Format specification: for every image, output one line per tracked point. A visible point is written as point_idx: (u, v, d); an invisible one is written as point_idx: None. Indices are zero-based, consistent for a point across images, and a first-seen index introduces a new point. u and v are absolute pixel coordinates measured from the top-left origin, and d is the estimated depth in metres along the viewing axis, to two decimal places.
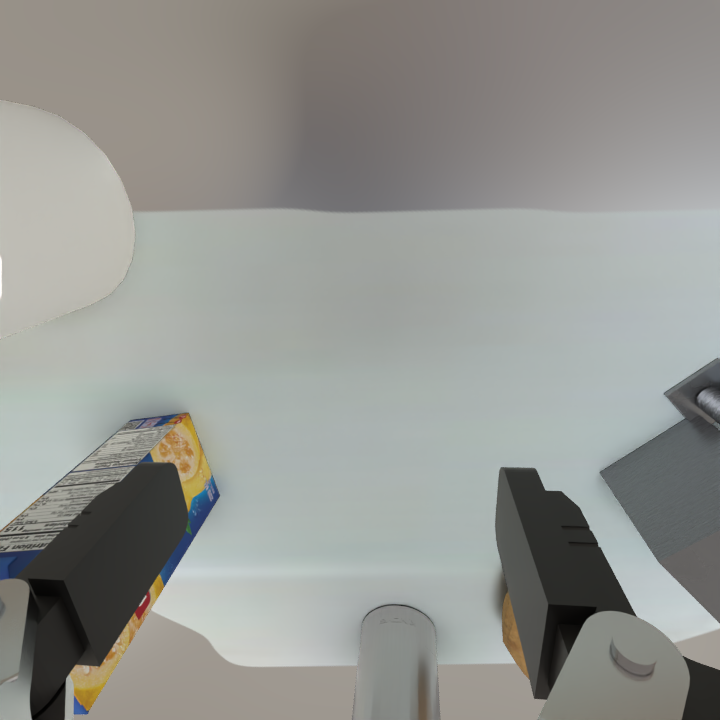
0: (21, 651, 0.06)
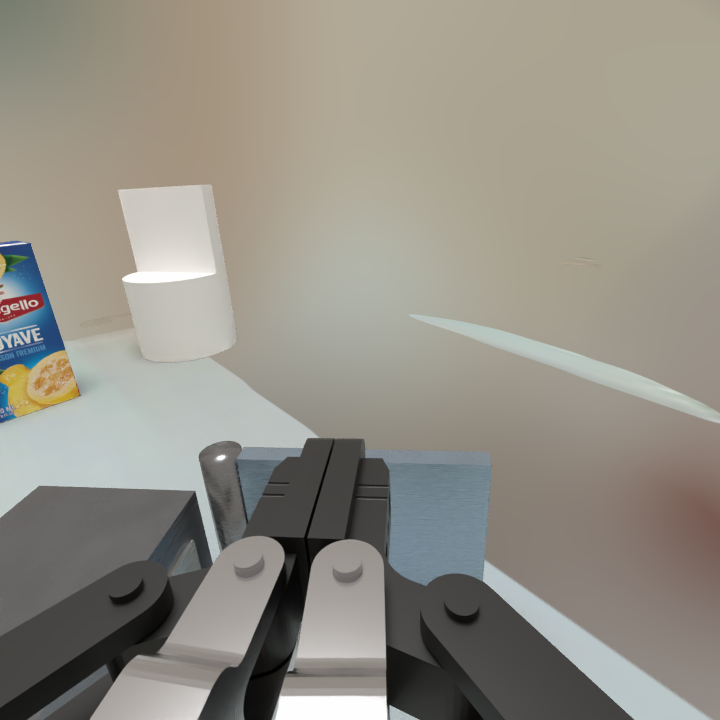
0: (255, 632, 0.06)
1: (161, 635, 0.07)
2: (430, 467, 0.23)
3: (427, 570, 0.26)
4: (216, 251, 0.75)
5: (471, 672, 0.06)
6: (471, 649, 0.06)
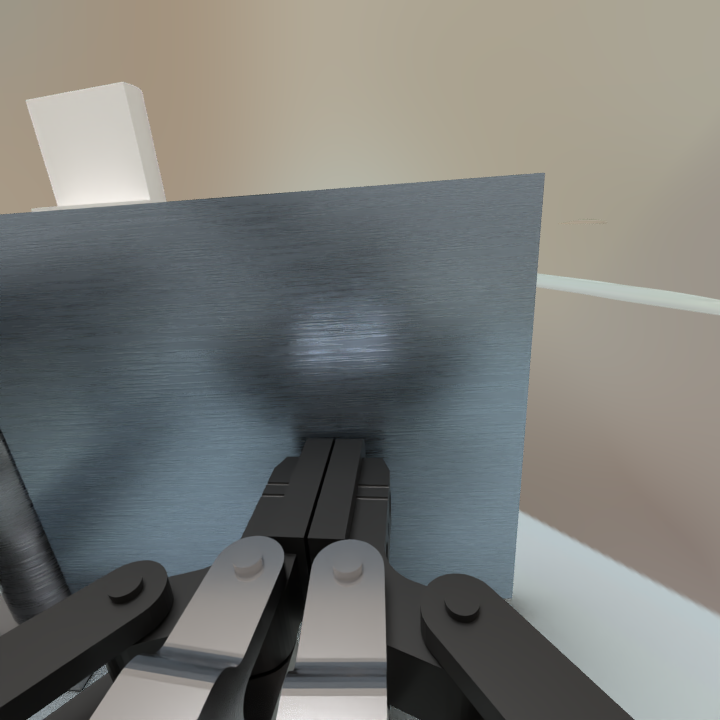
0: (254, 631, 0.06)
1: (161, 634, 0.07)
2: (390, 196, 0.09)
3: (398, 487, 0.12)
4: (149, 172, 0.60)
5: (471, 672, 0.06)
6: (471, 649, 0.06)
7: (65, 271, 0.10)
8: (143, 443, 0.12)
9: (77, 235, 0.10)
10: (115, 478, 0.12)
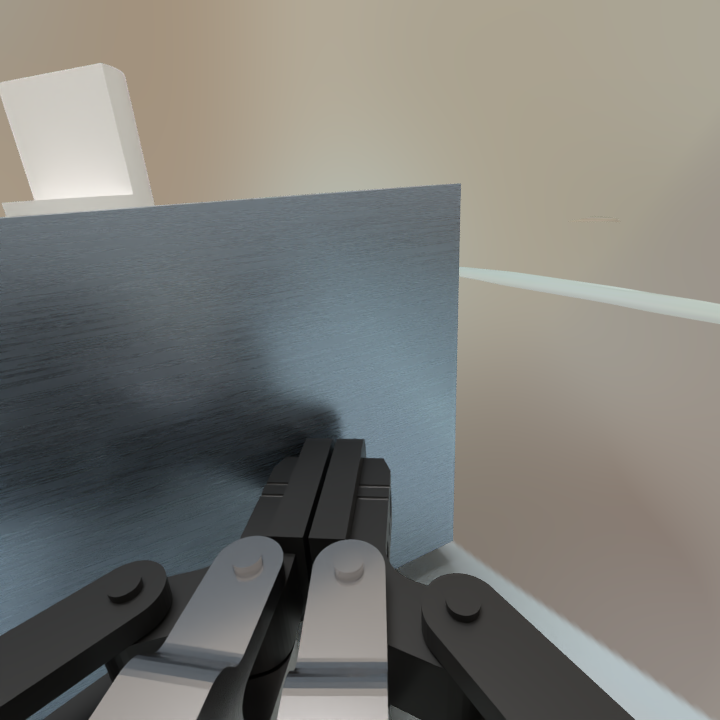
0: (253, 631, 0.06)
1: (159, 635, 0.07)
2: (350, 202, 0.10)
3: None
4: (132, 164, 0.55)
5: (472, 672, 0.06)
6: (472, 649, 0.06)
7: None
8: (81, 512, 0.09)
9: None
10: (38, 571, 0.09)
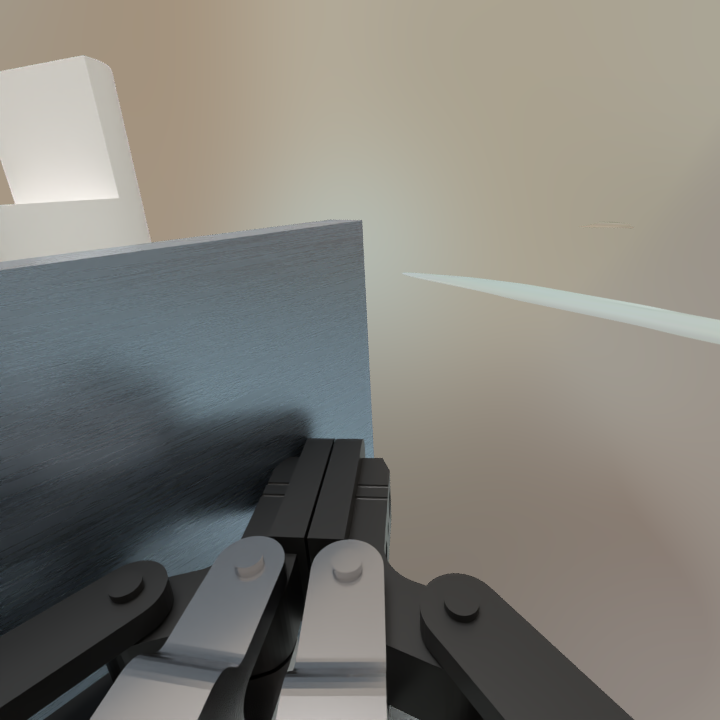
0: (254, 632, 0.06)
1: (161, 635, 0.07)
2: (255, 246, 0.09)
3: None
4: (118, 165, 0.51)
5: (471, 672, 0.06)
6: (471, 649, 0.06)
7: None
8: None
9: None
10: None
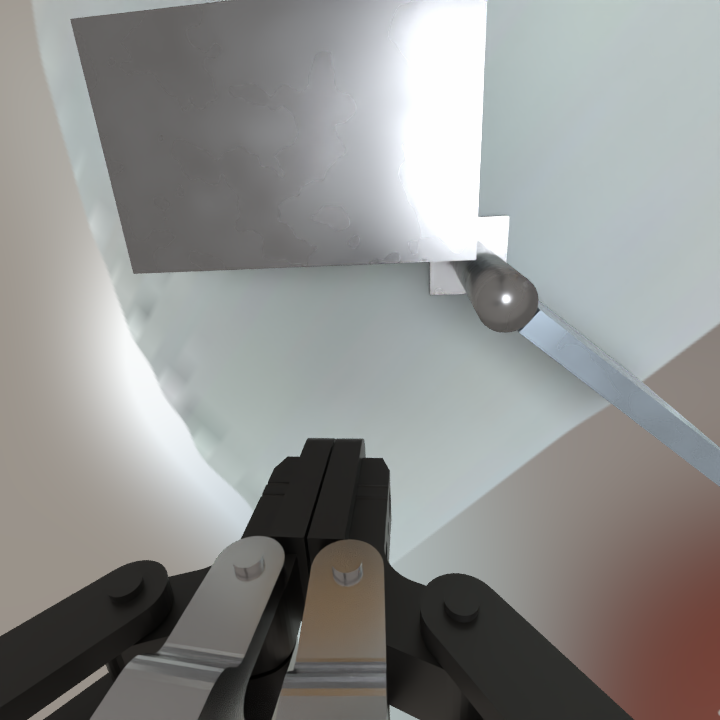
0: (255, 632, 0.06)
1: (161, 635, 0.07)
2: (699, 470, 0.20)
3: None
4: None
5: (471, 672, 0.06)
6: (471, 649, 0.06)
7: None
8: None
9: None
10: None
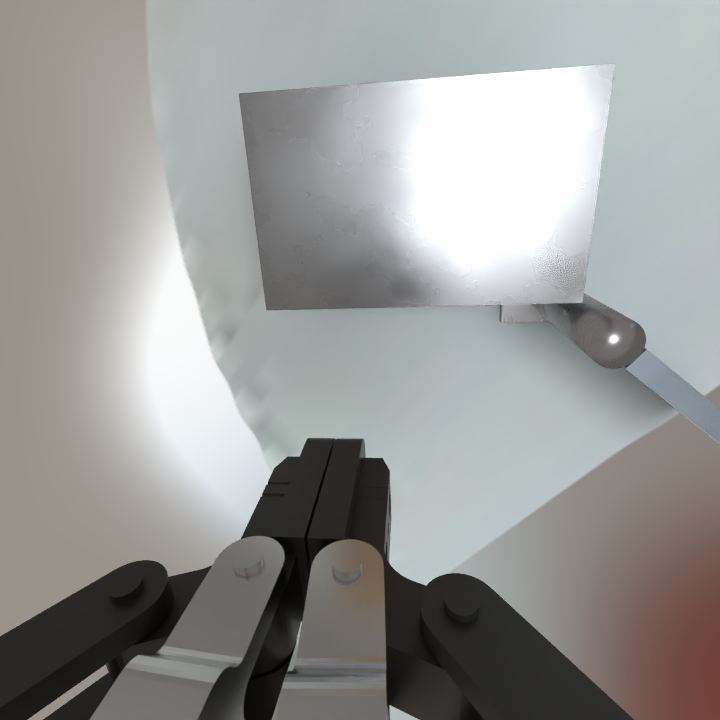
0: (254, 631, 0.06)
1: (161, 635, 0.07)
2: None
3: None
4: None
5: (471, 672, 0.06)
6: (471, 649, 0.06)
7: None
8: None
9: None
10: None
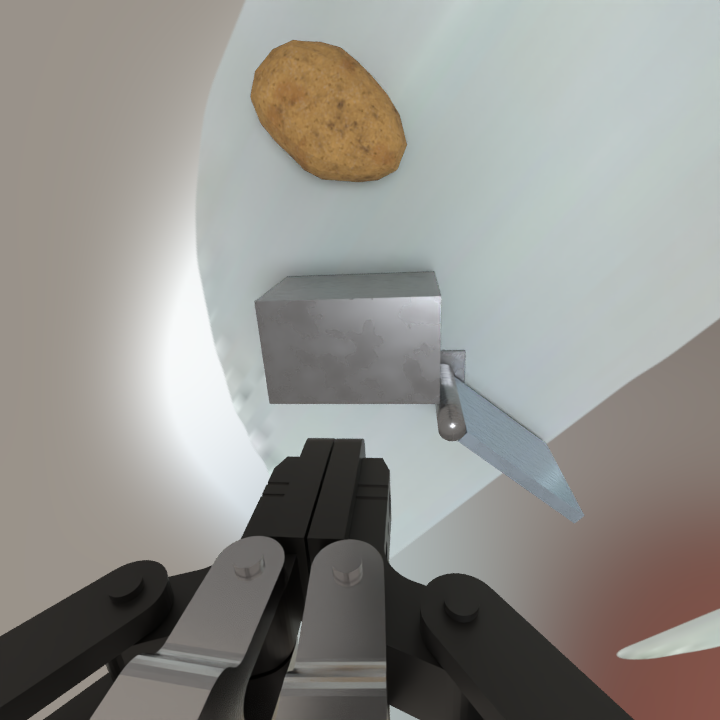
0: (254, 631, 0.06)
1: (161, 635, 0.07)
2: (548, 503, 0.40)
3: None
4: None
5: (471, 672, 0.06)
6: (471, 649, 0.06)
7: None
8: None
9: None
10: None
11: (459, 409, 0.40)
